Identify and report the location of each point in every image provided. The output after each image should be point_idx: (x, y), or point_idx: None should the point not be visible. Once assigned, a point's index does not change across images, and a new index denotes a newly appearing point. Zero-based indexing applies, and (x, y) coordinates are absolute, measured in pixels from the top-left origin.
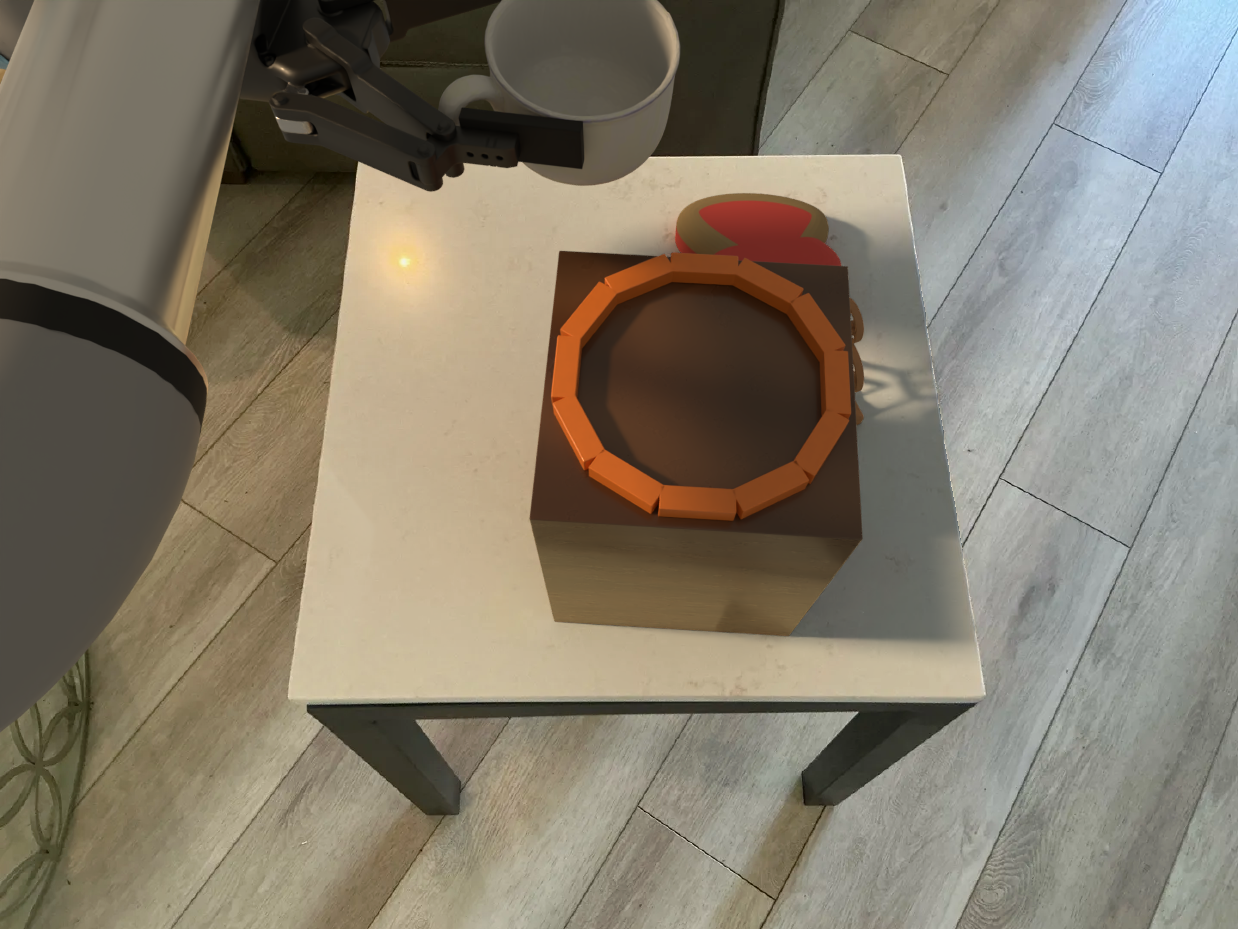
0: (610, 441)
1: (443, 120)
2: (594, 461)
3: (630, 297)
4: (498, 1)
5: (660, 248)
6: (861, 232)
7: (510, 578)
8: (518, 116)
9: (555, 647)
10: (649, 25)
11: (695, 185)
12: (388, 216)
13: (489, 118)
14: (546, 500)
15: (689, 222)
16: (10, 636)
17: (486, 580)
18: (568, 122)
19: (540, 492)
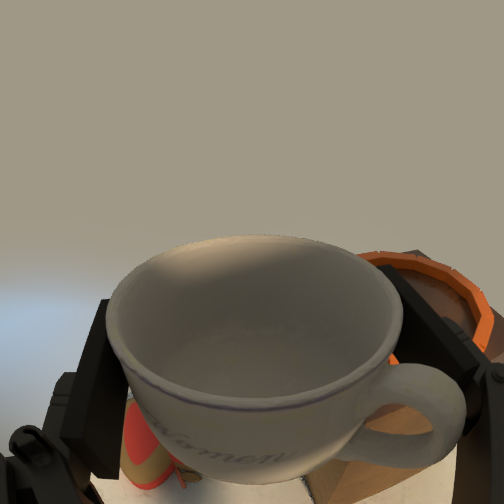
0: (468, 327)
1: (496, 379)
2: (490, 316)
3: None
4: (97, 493)
5: (158, 497)
6: (131, 391)
7: (438, 488)
8: (421, 311)
9: (452, 450)
10: (169, 285)
11: (100, 479)
12: None
13: (449, 335)
14: None
15: (145, 471)
16: None
17: (445, 497)
18: (387, 274)
19: None
